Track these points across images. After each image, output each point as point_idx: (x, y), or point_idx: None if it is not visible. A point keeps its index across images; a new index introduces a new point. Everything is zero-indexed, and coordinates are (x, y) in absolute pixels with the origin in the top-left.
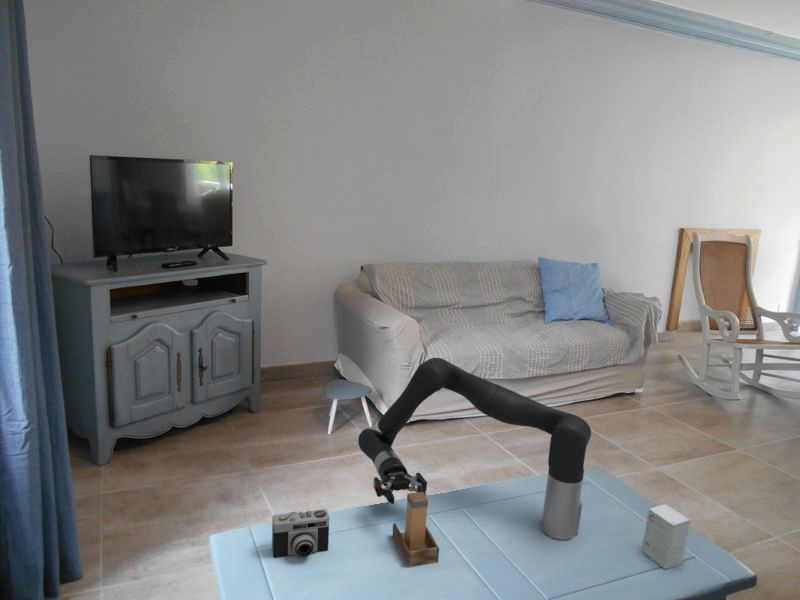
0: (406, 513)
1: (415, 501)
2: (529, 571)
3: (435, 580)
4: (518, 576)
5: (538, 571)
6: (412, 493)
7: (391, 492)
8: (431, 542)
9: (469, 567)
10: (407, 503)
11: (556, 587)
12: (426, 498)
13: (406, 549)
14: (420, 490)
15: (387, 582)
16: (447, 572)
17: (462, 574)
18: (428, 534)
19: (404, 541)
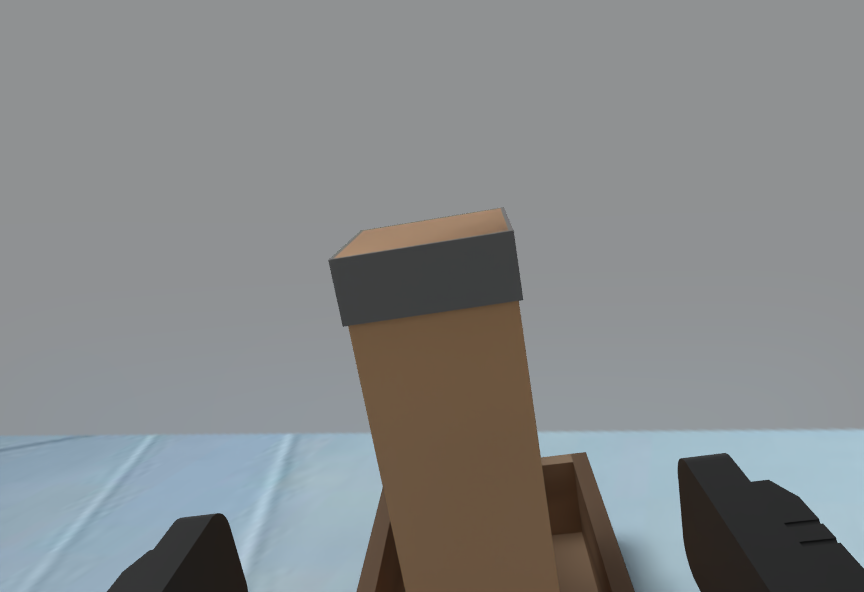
0: (540, 458)
1: (473, 214)
2: (73, 498)
3: None
4: (139, 482)
5: (45, 497)
6: (453, 239)
7: (744, 537)
8: (392, 551)
9: (274, 523)
10: (523, 339)
11: (87, 449)
12: (358, 235)
13: (592, 473)
14: (177, 566)
15: None
16: None
17: (336, 494)
18: (378, 581)
19: (595, 526)
